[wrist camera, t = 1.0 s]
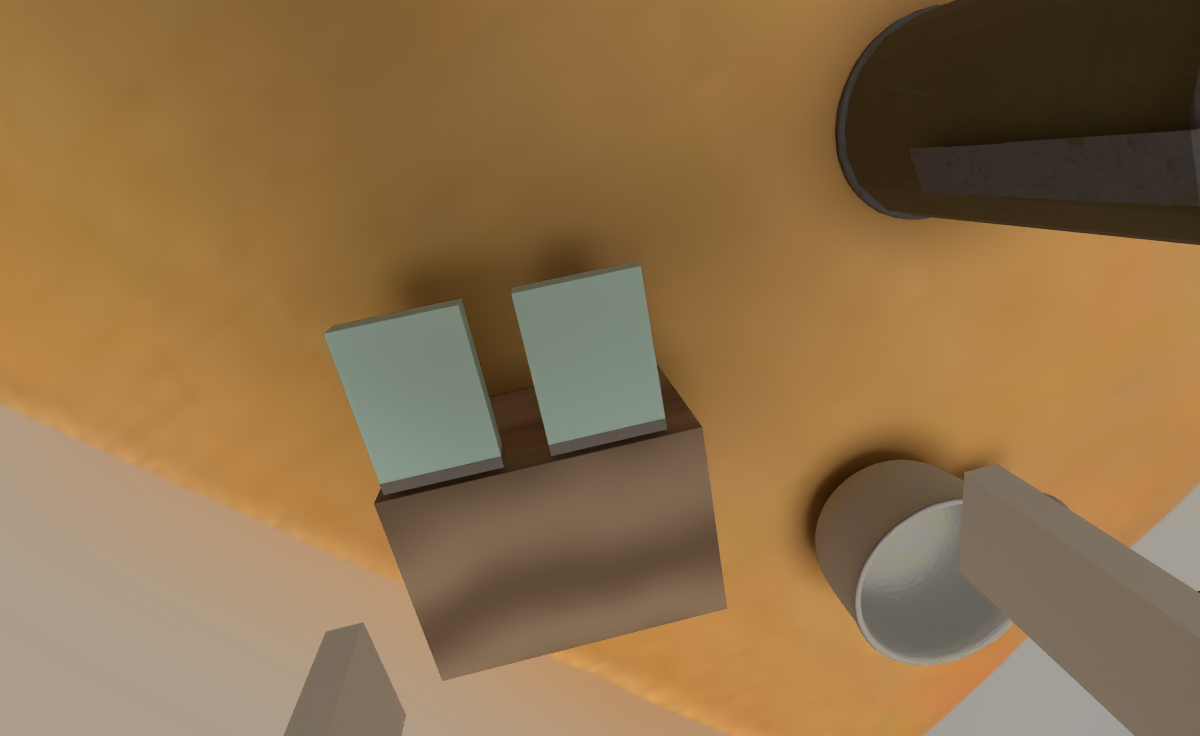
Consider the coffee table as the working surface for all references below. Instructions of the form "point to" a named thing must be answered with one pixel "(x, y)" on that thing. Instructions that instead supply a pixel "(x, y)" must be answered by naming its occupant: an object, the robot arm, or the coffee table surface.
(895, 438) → the coffee table surface
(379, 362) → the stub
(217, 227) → the coffee table surface
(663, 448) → the block
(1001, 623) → the teacup
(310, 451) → the coffee table surface
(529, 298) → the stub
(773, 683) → the coffee table surface
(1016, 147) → the canister
